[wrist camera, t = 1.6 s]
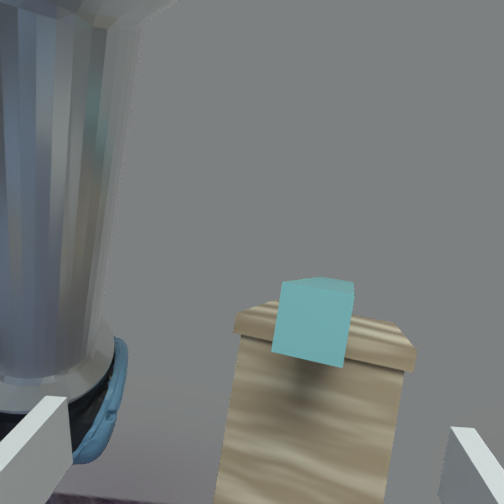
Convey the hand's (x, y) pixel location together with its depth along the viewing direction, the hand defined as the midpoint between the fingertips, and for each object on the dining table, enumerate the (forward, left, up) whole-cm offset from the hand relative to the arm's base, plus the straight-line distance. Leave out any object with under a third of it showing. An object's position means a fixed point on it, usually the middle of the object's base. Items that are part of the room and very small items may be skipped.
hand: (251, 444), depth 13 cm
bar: (-5, +17, +2) cm, 18 cm away
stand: (-7, +22, -26) cm, 35 cm away
